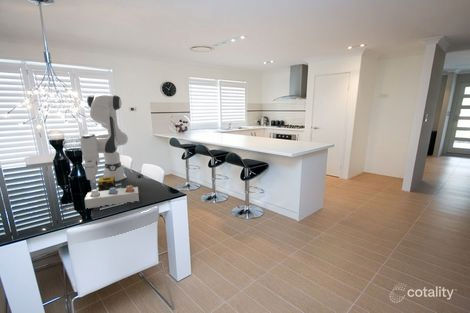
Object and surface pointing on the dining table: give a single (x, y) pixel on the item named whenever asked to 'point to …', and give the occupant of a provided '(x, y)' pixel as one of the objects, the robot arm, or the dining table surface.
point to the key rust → (129, 188)
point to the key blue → (112, 191)
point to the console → (111, 198)
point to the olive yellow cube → (106, 183)
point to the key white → (95, 192)
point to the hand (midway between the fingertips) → (93, 182)
